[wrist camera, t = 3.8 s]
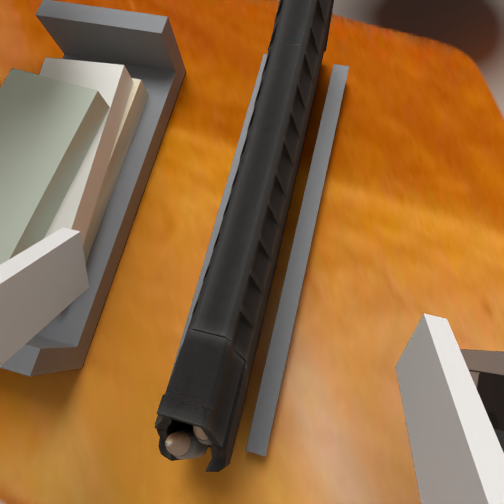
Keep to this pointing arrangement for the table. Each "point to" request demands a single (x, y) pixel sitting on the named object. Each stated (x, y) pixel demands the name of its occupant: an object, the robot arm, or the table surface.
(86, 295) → the rack
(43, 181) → the offcut
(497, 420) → the cassette player
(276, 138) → the magazine
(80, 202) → the offcut
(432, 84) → the table surface
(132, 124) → the offcut
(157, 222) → the table surface
